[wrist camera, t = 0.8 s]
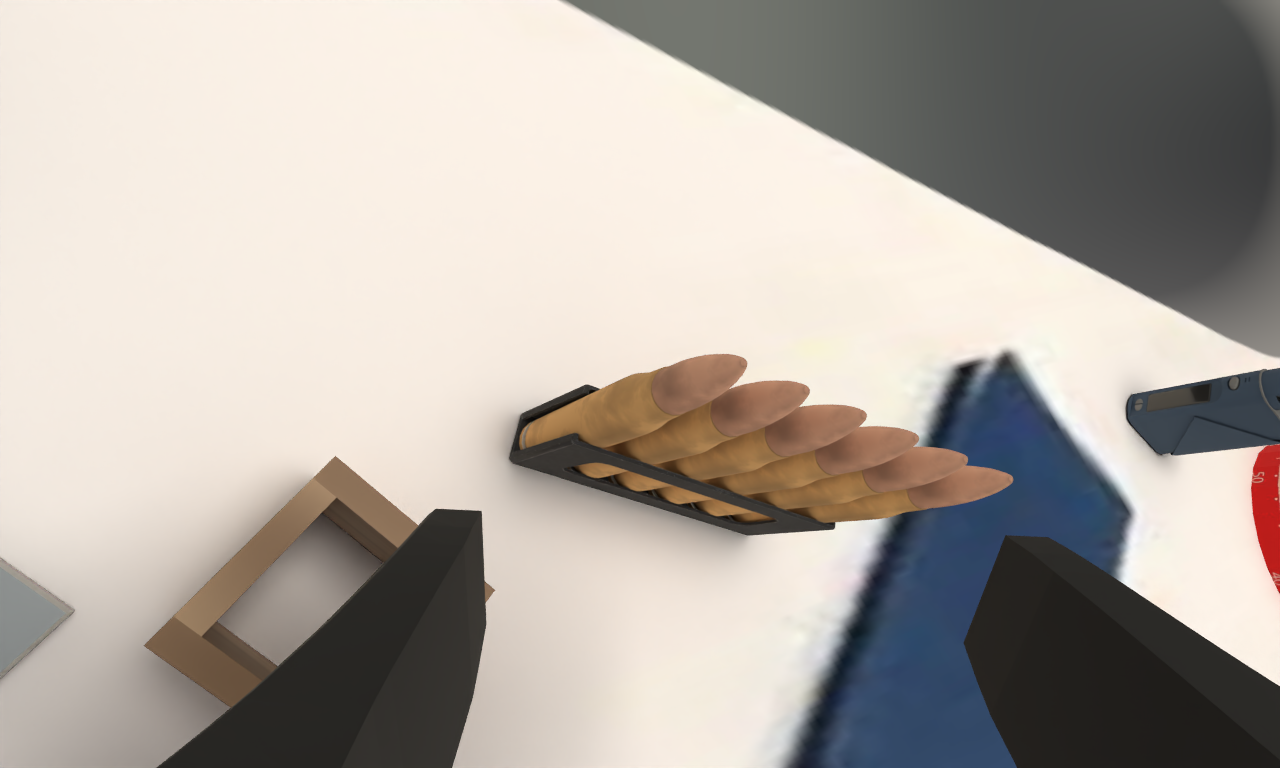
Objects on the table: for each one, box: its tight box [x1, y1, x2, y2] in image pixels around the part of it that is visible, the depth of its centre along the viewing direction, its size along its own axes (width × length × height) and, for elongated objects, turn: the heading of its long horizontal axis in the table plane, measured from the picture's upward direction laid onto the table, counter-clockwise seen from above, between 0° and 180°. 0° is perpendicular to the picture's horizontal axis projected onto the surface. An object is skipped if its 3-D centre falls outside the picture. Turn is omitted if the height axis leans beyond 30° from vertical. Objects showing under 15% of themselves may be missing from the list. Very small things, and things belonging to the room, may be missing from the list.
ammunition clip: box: [510, 354, 1013, 535], centre depth 21 cm, size 11×2×12 cm, turn 79°
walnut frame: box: [144, 456, 495, 707], centre depth 18 cm, size 5×5×5 cm
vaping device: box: [1127, 368, 1280, 455], centre depth 40 cm, size 3×5×12 cm, turn 60°
